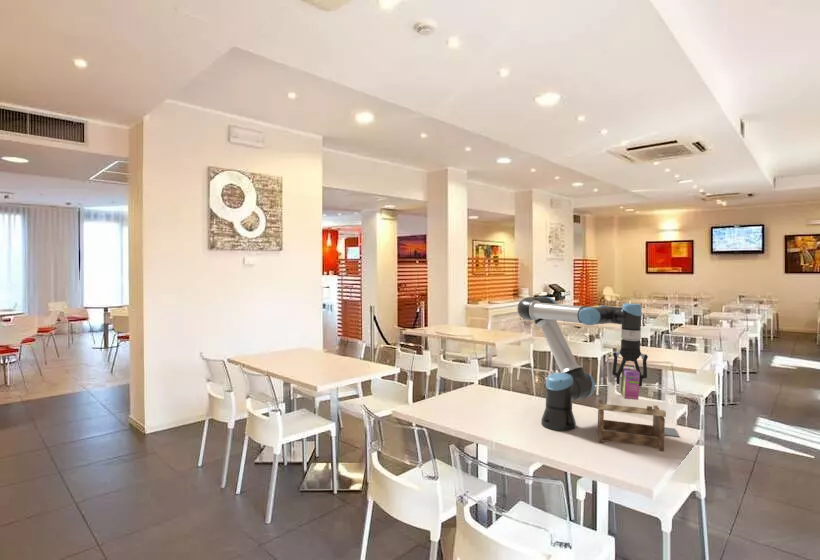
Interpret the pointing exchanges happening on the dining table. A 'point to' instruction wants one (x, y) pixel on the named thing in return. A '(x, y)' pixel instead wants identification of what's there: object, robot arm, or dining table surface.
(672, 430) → the mat
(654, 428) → the toolbox
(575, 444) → the dining table surface
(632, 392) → the box
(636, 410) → the brown wooden bar
